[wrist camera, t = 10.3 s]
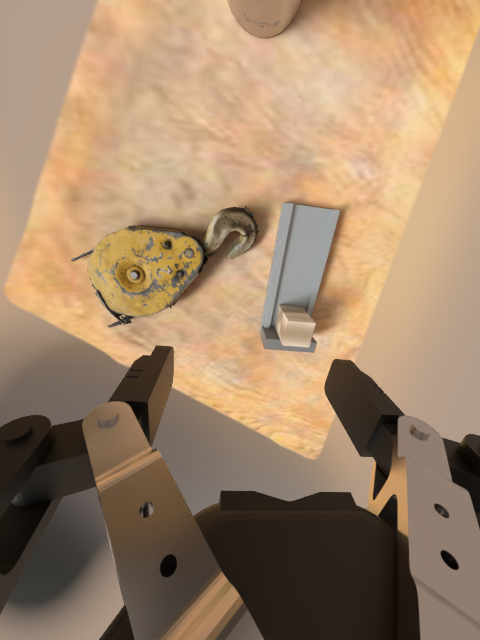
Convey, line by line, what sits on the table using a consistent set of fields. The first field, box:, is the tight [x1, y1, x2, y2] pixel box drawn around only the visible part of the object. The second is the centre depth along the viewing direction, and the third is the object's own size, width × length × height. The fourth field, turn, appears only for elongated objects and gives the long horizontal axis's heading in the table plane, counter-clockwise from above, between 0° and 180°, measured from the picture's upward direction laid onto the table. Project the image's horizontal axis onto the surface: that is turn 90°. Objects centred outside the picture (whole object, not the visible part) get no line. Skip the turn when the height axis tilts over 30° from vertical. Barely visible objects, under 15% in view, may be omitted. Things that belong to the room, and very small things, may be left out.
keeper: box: [274, 305, 316, 347], centre depth 38 cm, size 4×4×7 cm
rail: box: [260, 203, 340, 353], centre depth 37 cm, size 23×9×6 cm, turn 173°
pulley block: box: [71, 206, 259, 328], centre depth 36 cm, size 14×6×30 cm
